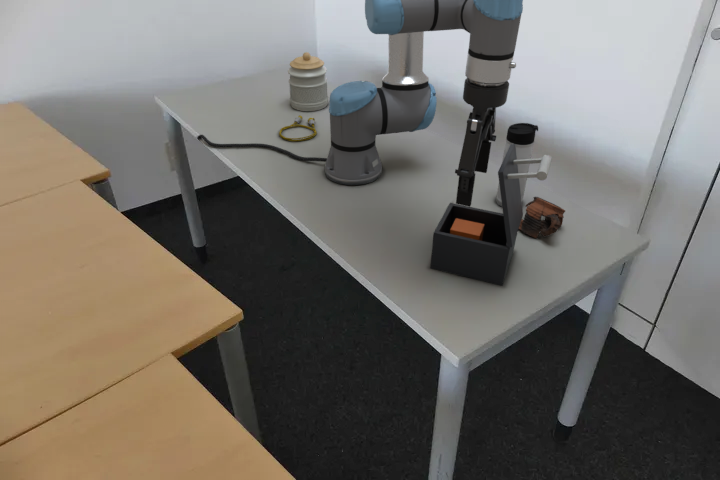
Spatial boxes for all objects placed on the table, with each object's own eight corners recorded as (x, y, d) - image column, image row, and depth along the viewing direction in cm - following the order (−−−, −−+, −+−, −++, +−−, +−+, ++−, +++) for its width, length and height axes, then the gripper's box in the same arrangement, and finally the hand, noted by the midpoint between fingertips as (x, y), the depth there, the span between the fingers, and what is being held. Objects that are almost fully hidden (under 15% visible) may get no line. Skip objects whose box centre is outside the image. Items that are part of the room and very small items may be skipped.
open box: (430, 268, 112) (433, 232, 107) (446, 236, 121) (450, 202, 116) (502, 286, 107) (509, 249, 102) (513, 251, 116) (520, 216, 111)
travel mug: (523, 210, 130) (539, 132, 118) (495, 207, 131) (508, 130, 120) (522, 197, 135) (537, 121, 123) (495, 194, 136) (508, 119, 125)
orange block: (447, 257, 113) (450, 229, 109) (452, 245, 117) (455, 218, 113) (475, 263, 111) (479, 235, 107) (480, 251, 115) (484, 224, 111)
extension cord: (331, 127, 170) (331, 121, 169) (300, 145, 160) (299, 139, 158) (301, 119, 176) (300, 113, 175) (268, 136, 165) (268, 129, 164)
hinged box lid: (497, 172, 94) (544, 169, 91) (510, 144, 104) (552, 140, 100) (507, 247, 102) (550, 247, 98) (518, 214, 111) (558, 214, 108)
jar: (296, 96, 192) (293, 45, 182) (332, 99, 190) (330, 47, 180) (285, 110, 182) (280, 57, 172) (322, 113, 180) (320, 59, 169)
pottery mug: (507, 222, 126) (524, 190, 124) (539, 235, 129) (556, 204, 127) (533, 240, 115) (551, 205, 113) (567, 253, 118) (586, 219, 116)
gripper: (494, 109, 82) (476, 224, 95) (521, 60, 101) (503, 162, 113) (446, 101, 85) (435, 215, 97) (481, 55, 103) (468, 155, 116)
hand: (472, 187), depth 105 cm, fingers open, 13 cm apart
